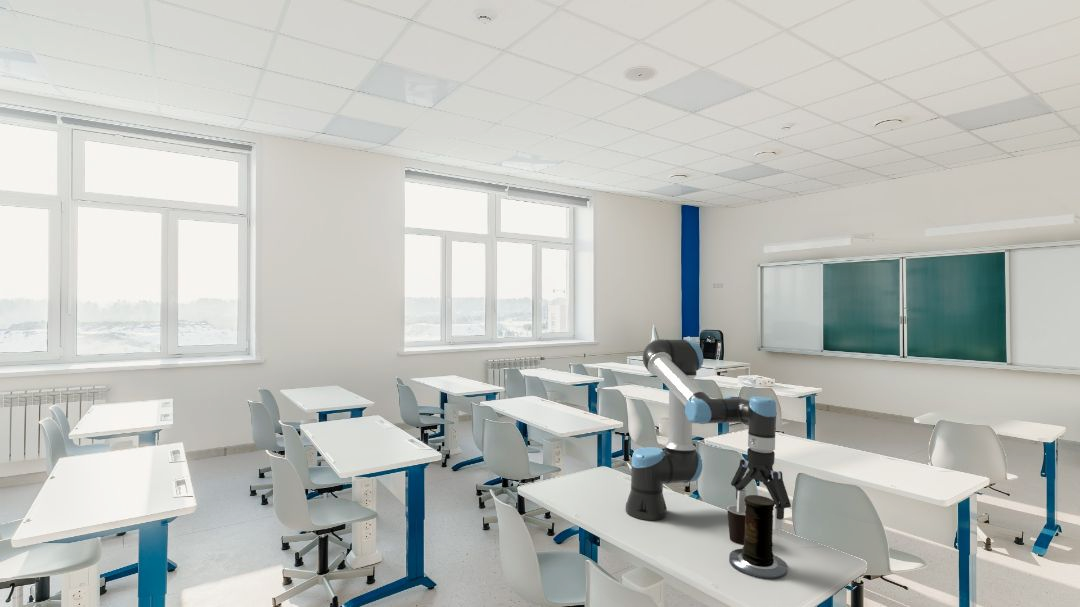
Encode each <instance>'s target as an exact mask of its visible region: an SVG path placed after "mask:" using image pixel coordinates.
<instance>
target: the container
mask: <svg viewBox="0 0 1080 607" xmlns="http://www.w3.org/2000/svg"><path fill="white" fill-rule="evenodd" d="M744 501H745V507H746V510H745V537H744V545H742V548H741V549H742V550H743V552H742V558H743V559H744V560H745V561H746V562H748V563H750V564H752V565H755V566H760V567H768V566H771V565H773V563H774V559H773V556H774V555H775V554H774V553H773V546H774V544H773V531H774V530H773V507H775V506H776V505H775V503H774V501H773V499H772V498H769V497H766V496H763V495H756V494H750V495H749V494H748V495H746V497H745V499H744Z"/></svg>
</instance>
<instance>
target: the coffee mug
mask: <svg viewBox="0 0 1080 607" xmlns="http://www.w3.org/2000/svg"><path fill="white" fill-rule="evenodd" d="M726 509H727V521H728V523H727V524H728V533H729V540H730V541H731V542H733V543H735V544H738V545H742V546H744V537H745V511H744V512H737V504H735V505H734V504H733V505H729V506H727V507H726ZM745 510H746V506H745Z"/></svg>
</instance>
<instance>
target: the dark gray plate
mask: <svg viewBox="0 0 1080 607" xmlns="http://www.w3.org/2000/svg"><path fill="white" fill-rule="evenodd" d="M742 552H743V550H742V548H737V549H734V550H732V551H730V552H729V557H728V558H729V560H728V561H729V564H730V566H732V568H733V569H735V570H737V571H738V572H740V573H743V574H744V575H747V576H749V577H753V578H757V579H763V580H778V579H782V578H785V577H786V576H787V574H788V564H787V563H786V562H785V560H784V559H783V558H780V557H779V556H778V555H776V554H773V555H774V556H773V559H774V563H773V565H771V566H768V567H760V566H755V565H752V564H750V563H748V562H746V561H745V560H744V559H743V558H742Z"/></svg>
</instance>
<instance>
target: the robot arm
mask: <svg viewBox="0 0 1080 607" xmlns="http://www.w3.org/2000/svg"><path fill="white" fill-rule="evenodd" d="M703 354H704V353H703V351H702V348H701V347H700V346H699V344H698V343H697V342H696V341H694V340H689V339H664V338H663V339H661V338H660V339H655V340H653V341H651V342H649V344H647V345H646V346H645V347H644V350H643V352H642V362H643V366H644V367H645V369H646V370H647V371H648V372H649V373H650V375H652V376H656V377H657V378H658V379H659V380H660V381H661V382H662V383H663V384H664V385H665V386H666V387H667V388H668V441H667V442H666V443H665V444H664V447H663V448H664V449H662V448H661V447H657V446H646V447H640V448H637V449H635V450H634V451H633V453H632V457H631V463H630V465H631V477H630V478H631V480H630V492H629V494H628V496H627V500H626V503H625V512H626V514H628V515H629V516H631V517H633V518H635V519H638V520H643V521H660V520H663V519H665V518H666V517H667V516H668V513H667V512H668V507H667V505H666V501H665V497H664V494H663V493H664V492H663V491H664V490H663V488H664V485H668V484H670V485H671V484H680V483H681V484H687V483H693V482H696V481H697V480H698V479H699V478H700V476H701V474H702V471H703V459H702V456H701V453H699V452H698V450H697V447H696V446H695V445H694V444H693V442H692V441H693V436H692V435H693V424H700V425H705V424H730V423H731V424H732V423H736V424H737V423H738V424H743V425H746V426H748V431H747V434H748V436H747V437H748V438H747V447H748V448H747V454H746V455H747V456H746V458H743V459H740V460H739V466H738V468H737V470H736V472H735V475H734V476H733V478H732V480H731V481H730V484H731V487H734V488H735V490H736V491H735V499H736V505H737V512H744V511H745V507H746V506H745V501H744V499H745V497H746V496H747V494H746V493H747V490H745V489H746V487H747V486H748V485H749V484H750V483H751V482H753V481H752V480H755V481H758V482H760V483H762V484H763V486H765V487H766V489H767V491H768V493H769V495H770V497H771V500H773V501H774V503H775V506H774V507H773V531H779V530H782V529H783V528H782V526H783V525H782V524H783V520H784V517H785V509H788V508H791V507H792V505H791V501H790V498H789V495H788V492H787V489H786V486H785V483H784V479H783V471H781V470H779V471H776V470H774V468H773V466H774V464H775V458H776V457H775V454H776V453H775V450H776V431H777V430H776V428H777V427H776V426H777V414H778V413H777V401H776V400H775V399H774V398H771V397H766V396H758V395H757V396H751V397H750V398H749V399H745V398H742V397H739V396H733V395H732V396H731V395H730V396H727V397H725V398H711V397H710V396H708V395H707V393H705V392H704V391H703V390H702V389H701V388H700V387H699V386H698V385H697V384H696V383H695V382H694V381H693V380H694V378H696V376H697V371H699V370H701V369H702V367H703V364H704V355H703ZM747 471H748V472H747Z"/></svg>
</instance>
